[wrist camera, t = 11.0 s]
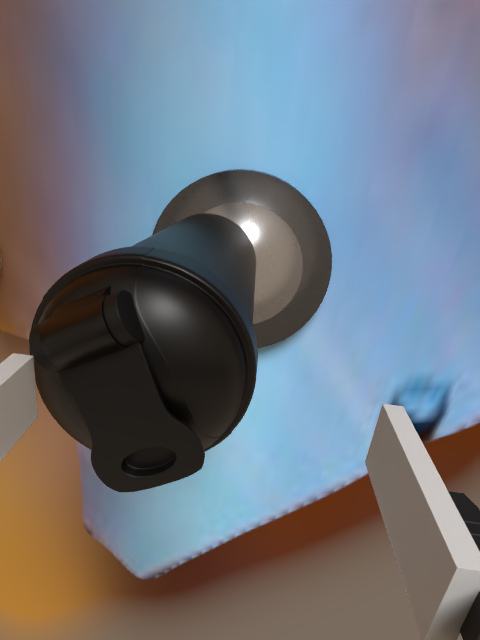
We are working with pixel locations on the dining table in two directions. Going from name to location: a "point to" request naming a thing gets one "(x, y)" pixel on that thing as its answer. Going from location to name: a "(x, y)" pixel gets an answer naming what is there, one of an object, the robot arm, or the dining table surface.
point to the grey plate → (267, 243)
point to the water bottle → (152, 350)
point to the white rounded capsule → (1, 262)
